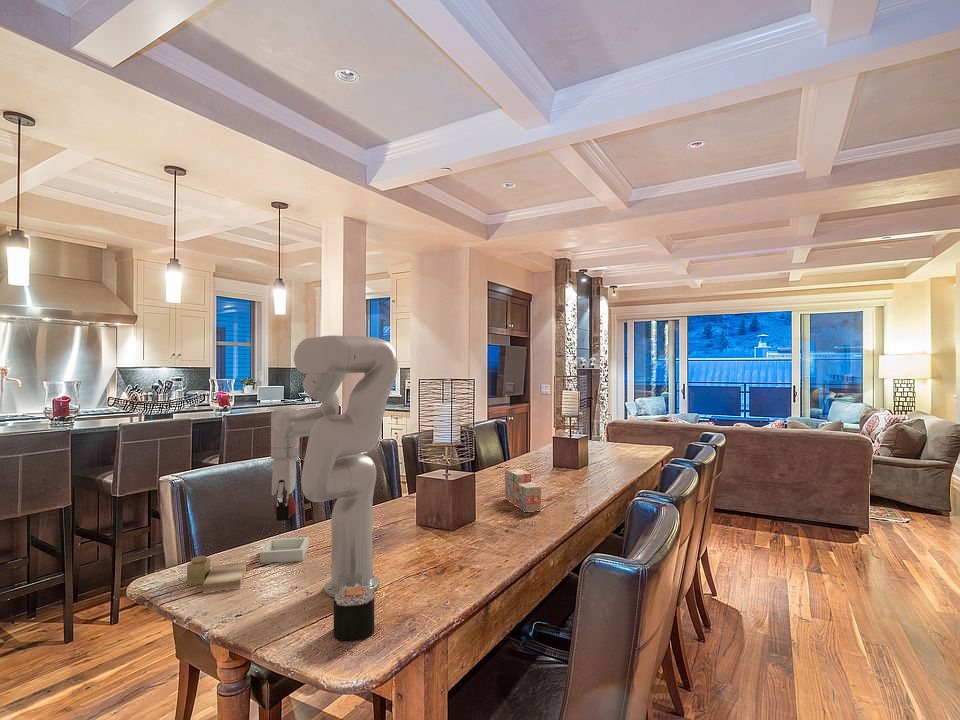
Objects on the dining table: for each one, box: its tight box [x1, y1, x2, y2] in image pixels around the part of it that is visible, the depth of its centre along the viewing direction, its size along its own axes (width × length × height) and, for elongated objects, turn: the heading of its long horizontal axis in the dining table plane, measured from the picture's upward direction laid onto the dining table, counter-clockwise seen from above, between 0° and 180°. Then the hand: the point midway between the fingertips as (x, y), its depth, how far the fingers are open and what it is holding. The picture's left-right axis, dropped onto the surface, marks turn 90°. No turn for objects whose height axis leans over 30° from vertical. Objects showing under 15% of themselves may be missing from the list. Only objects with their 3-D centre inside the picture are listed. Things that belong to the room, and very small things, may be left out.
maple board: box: [202, 561, 248, 593], centre depth 128 cm, size 12×8×2 cm, turn 18°
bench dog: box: [186, 555, 211, 586], centre depth 128 cm, size 4×4×6 cm
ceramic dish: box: [259, 536, 310, 564], centre depth 146 cm, size 11×11×3 cm
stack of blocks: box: [504, 468, 542, 513], centre depth 197 cm, size 21×6×12 cm, turn 17°
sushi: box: [332, 585, 376, 643], centre depth 103 cm, size 8×8×8 cm
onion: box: [273, 492, 297, 518], centre depth 146 cm, size 6×6×8 cm
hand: (285, 516), depth 146 cm, fingers closed on onion, 5 cm apart
